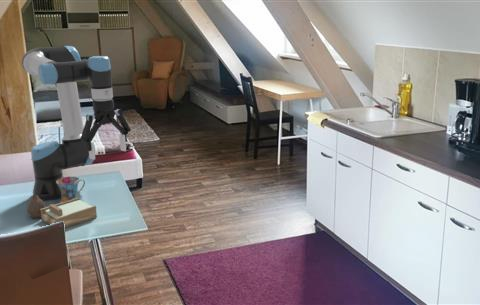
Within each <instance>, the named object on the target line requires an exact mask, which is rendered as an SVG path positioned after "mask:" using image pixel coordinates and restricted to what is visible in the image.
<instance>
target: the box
mask: <svg viewBox="0 0 480 305" xmlns="http://www.w3.org/2000/svg"><path fill="white" fill-rule="evenodd" d="M77 200H79V198H75V199H72V200H69V201H65V202H62V203H60V202H59V203H55V204H54V205H55V206H61V205H64V204H67V203H71V202H74V201H77ZM91 206H92V207H89V208H86V209H83V210H80V211H77V212H74V213H71V214H67V215H64V216H61V217H58V218H56V219H54V218H53V217H51V216H49V215H48V214H46V213H45V210H48V209H49V206H46V207H45V208H42V209H40V211H41V218H40V219H41V221H42V222H44V223H45V224H47V225H48V224H52V223H56V222H60V221H64V224H65V229H67V227H68V228H70V226H71V227H73V225H74V226H75V225H79V224H82V223H85V222H88V221H91V220H93V218H94V219H96V217H98V216H97V209H96V208H97V207H96V205H94V206H93V205H91Z"/></svg>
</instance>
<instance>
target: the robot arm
mask: <svg viewBox="0 0 480 305" xmlns="http://www.w3.org/2000/svg"><path fill="white" fill-rule="evenodd" d="M21 66H22V68H23V69H24V71H25V72H27V74H29V75H32V76H38V78H39V81H40V83H41V84H42V85H55V86H56V91H57V97H58V103H59V109H60V115H61V121H62V127H63V133H64V135H63V137H62V138H61V141H62V142H61V143H59V141H56V140H52V141H45V142H41V143H39V144H37V145H36V144H35V146H33V147H32V149H31V151H30V152H31V155H30V156H31V161H32V167H33V168H32V169H33V175H34V183H33V184H34V185H33V190H32V196H34V195H37V196H38V197H39V198H40V199H41V200H43V201H50V200H57V199H61V191H60V188H59V186H58V185H57V183H56V181H57V180H58V179H60V178H64V177H65V176H64V174H63V170H69V169H74V168H79V167H84V166H88V165H91V164H93V162H94V160H96V146H95V143H94V140H93V139H94V138H95V136H96V134H97V133H98V131H99V130H100V128H101V127H102V126H105V125H113V126H114V128H115V129H117V130H118V131H119V132H120V133H119V134H118V136H119V147H120V151H122V152H127V144H126V143H127V142H128V138H127V137H128V136H127V135H129V132H132V131H131V127H130V126H129V124H128V122H127V121H126V119H125V117H124V116H123V115H124V114H123V110H122V109H120V108H119V109H118V108H116V109H115V102H114V99H113V98H114V93H113V92H114V91H113V81H112V80H113V79H112V70H111V69H112V66H111V61H110V57H108V56H107V55H96V56H90V57H88V59H87V58H85V59H81V55H80V54H79V51H78V50H77V49H76V47H74V46H72V45H59V46H57V45H56V46H43V47H41V46H40V47H35V48H32V49H29V50H28V51H27V52H25V53H24V55H22V59H21ZM86 81H90V92H91V98H92V102H91V103H92V109H93V114H86V115H85V123H84V122H83V115H82V109H81V102H80V96H79V91H78V89H79V88H78V84H77V82H86ZM115 116H116V117H117V119H118V120H116V118H115ZM93 121H94V122H93ZM118 121H119V122H118Z"/></svg>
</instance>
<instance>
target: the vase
mask: <svg viewBox="0 0 480 305" xmlns="http://www.w3.org/2000/svg"><path fill="white" fill-rule="evenodd" d="M45 207H47V205H46V204H45V201H44V200H41V199H40V198H39V197H38V196H37V195H34V196H33V195H32V196H31V197H30V200H29V201H28V202H27V205H26V212H27V214H28V216H29V217H30V218H32V219H36V220H37V219H42V218H41V211H40V209H42V208H45Z"/></svg>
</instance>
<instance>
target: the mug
mask: <svg viewBox="0 0 480 305" xmlns="http://www.w3.org/2000/svg"><path fill="white" fill-rule="evenodd" d="M63 177H64V178H60V179H58V180H57V181H56V183H57V185H58V186H59V188H60V191H61V198H60V202H59V203H62V202H65V201H69V200H72V199H75V198H79V200H81V201H82V199H81V198H80V196H79V195H80V192H81V191H82V190H83V188H84V187H85V185H86V181H85V180H84V179H83V178H82V179H80V177H78V176H63ZM80 181H83V185H82V186H81V187H80V189H79V188H78V186H79V183H80Z"/></svg>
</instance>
